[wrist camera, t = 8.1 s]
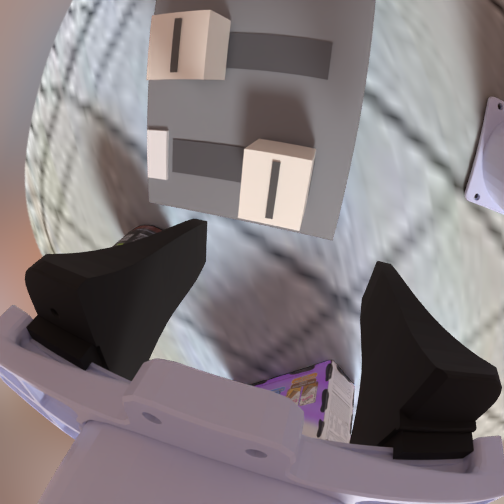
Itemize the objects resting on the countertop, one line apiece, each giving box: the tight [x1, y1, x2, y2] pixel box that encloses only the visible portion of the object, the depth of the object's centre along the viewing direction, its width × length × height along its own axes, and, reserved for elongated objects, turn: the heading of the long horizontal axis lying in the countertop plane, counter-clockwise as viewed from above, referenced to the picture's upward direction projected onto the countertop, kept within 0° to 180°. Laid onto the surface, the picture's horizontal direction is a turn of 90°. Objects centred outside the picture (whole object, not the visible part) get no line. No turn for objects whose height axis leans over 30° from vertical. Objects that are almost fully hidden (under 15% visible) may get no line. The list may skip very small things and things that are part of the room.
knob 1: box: [147, 10, 231, 80], centre depth 14 cm, size 4×4×3 cm
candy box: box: [251, 360, 355, 443], centre depth 26 cm, size 14×6×16 cm, turn 131°
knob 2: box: [238, 139, 316, 231], centre depth 17 cm, size 4×4×3 cm
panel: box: [147, 0, 375, 240], centre depth 16 cm, size 14×23×2 cm, turn 174°
